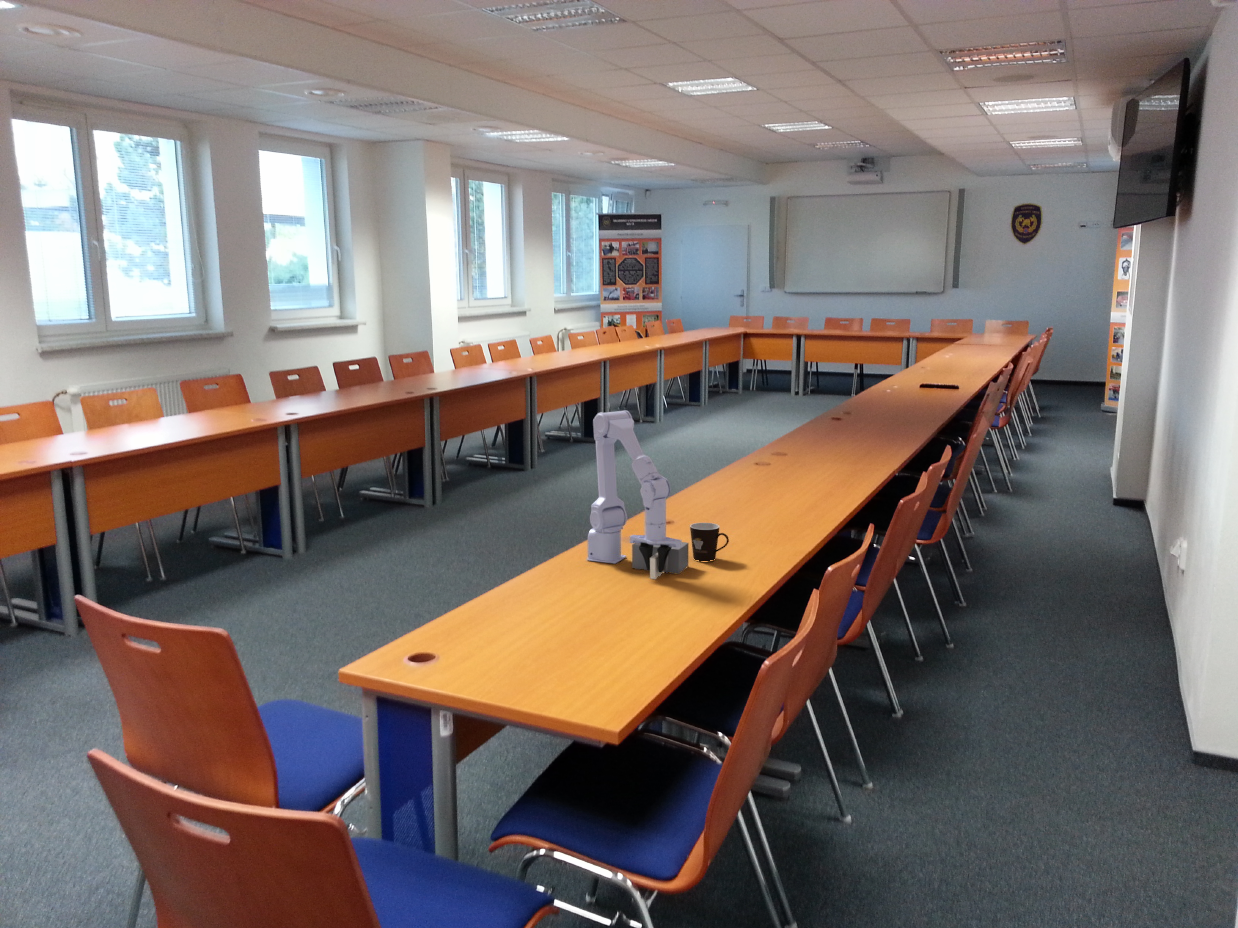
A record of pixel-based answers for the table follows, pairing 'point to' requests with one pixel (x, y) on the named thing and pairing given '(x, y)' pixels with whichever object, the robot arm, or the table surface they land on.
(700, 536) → the coffee mug
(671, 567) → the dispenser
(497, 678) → the table surface
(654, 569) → the white flat block
